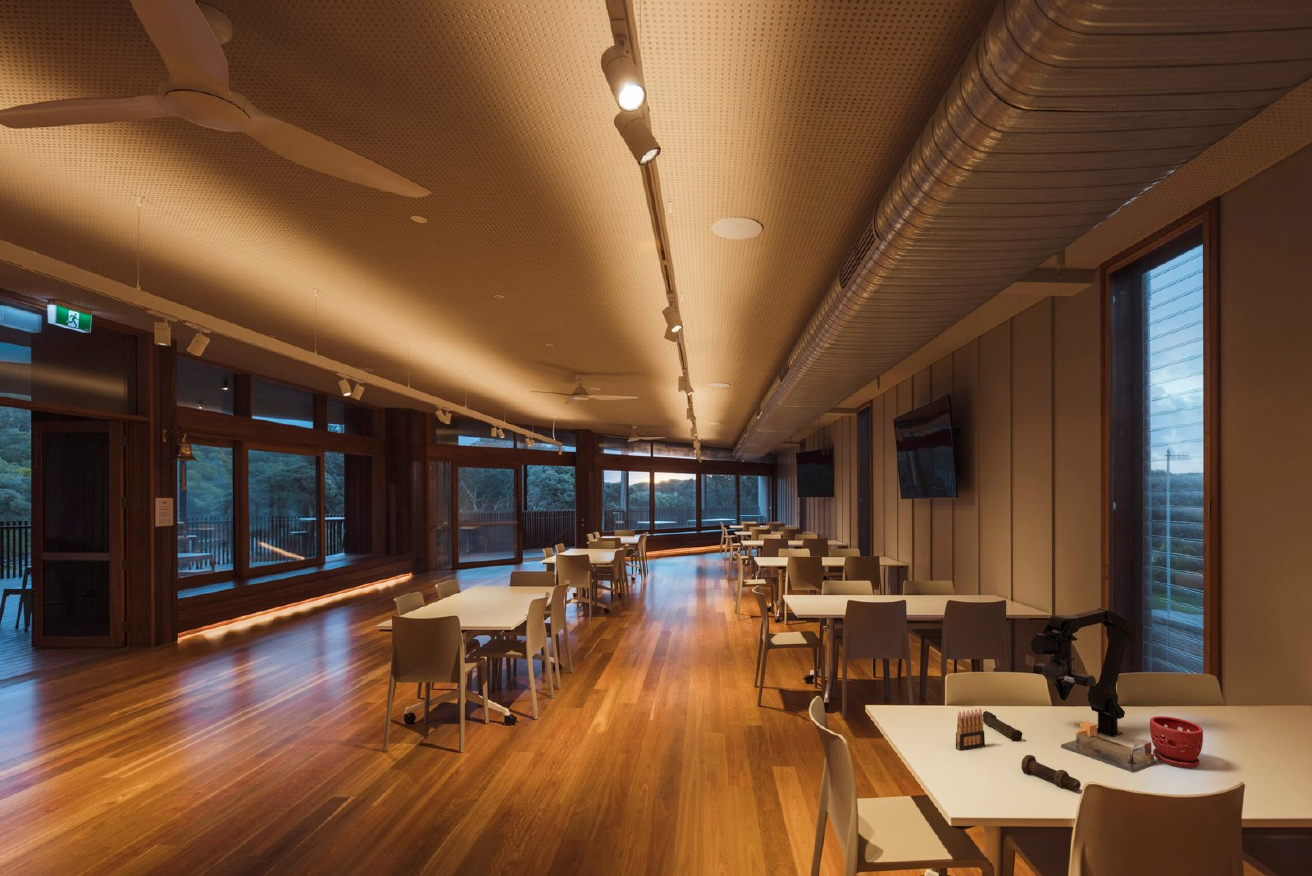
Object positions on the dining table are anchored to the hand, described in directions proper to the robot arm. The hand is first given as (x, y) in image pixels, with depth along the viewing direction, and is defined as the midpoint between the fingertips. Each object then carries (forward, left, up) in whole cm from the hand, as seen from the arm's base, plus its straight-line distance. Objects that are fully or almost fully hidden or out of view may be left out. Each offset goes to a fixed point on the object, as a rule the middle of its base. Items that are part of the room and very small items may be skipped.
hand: (1063, 700), depth 230 cm
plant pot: (-9, +29, -12) cm, 33 cm away
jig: (+5, +16, -12) cm, 20 cm away
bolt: (+40, +19, -12) cm, 46 cm away
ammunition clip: (+39, -8, -12) cm, 41 cm away
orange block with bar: (+2, +8, -11) cm, 14 cm away
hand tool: (+17, -13, -12) cm, 25 cm away
